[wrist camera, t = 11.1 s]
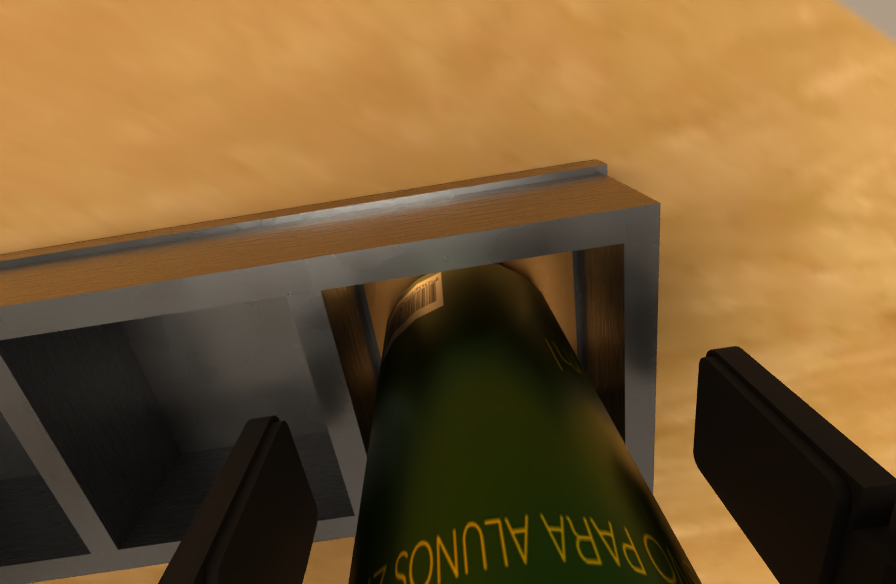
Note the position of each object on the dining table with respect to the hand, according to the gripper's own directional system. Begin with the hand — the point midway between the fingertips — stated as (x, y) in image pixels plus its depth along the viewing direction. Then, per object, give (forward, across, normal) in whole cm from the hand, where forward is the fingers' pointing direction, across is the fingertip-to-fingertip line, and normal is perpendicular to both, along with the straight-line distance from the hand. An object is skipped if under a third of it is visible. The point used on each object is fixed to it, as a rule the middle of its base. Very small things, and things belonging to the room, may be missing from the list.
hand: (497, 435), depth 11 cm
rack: (+7, +8, 0) cm, 10 cm away
